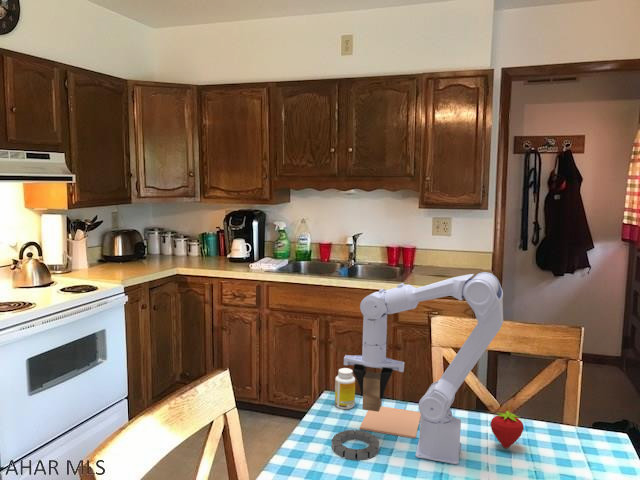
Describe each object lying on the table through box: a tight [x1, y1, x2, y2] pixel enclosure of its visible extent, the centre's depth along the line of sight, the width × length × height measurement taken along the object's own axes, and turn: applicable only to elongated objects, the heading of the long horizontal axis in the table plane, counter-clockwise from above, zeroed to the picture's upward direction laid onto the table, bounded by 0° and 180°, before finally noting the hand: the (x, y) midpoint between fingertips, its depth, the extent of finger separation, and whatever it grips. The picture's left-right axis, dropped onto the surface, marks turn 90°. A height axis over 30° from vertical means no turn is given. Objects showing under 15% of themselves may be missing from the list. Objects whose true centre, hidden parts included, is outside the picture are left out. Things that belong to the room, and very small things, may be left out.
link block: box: [362, 371, 383, 412], centre depth 125 cm, size 4×4×8 cm
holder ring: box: [331, 429, 381, 461], centre depth 121 cm, size 11×11×2 cm
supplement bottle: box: [334, 367, 356, 410], centre depth 142 cm, size 6×6×10 cm
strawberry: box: [490, 405, 524, 449], centre depth 122 cm, size 6×8×10 cm
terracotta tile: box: [359, 405, 421, 439], centre depth 134 cm, size 14×14×1 cm
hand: (372, 395), depth 125 cm, fingers closed on link block, 4 cm apart
